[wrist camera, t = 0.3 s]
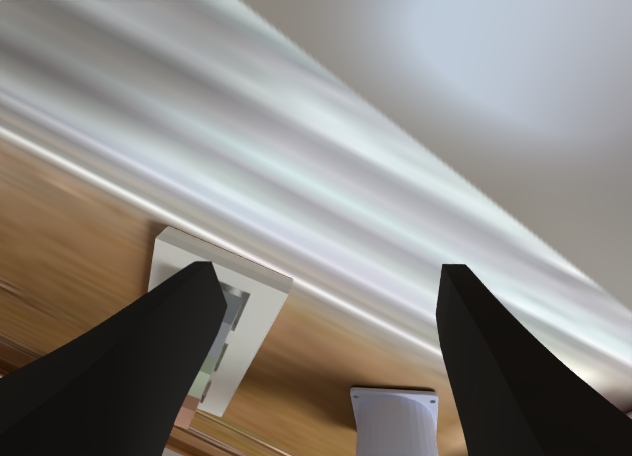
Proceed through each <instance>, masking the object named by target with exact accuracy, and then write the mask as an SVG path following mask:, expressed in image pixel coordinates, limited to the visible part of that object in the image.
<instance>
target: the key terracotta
mask: <svg viewBox="0 0 632 456" xmlns="http://www.w3.org/2000/svg"><path fill="white" fill-rule="evenodd" d="M206 387H207V386H206ZM206 387H205V389H206ZM204 391H205V390H204ZM203 394H204V392H203ZM203 394H202V396H203ZM202 396H201V398H202ZM201 398H200V399H198V398H196V397H193V396H191V395H188V394H187V396H186V398H185V400H184V402H183V404H182V407H181V409H180V411H179V413H178V415H177V418H176V420H175V423H174V425H176V426H179V427H182V428H184V429H188V427H189V425H190V422H191V420H192V418H193V416H194V414H195V412H196V410H197V407H198V405H199V403H200V401H201Z"/></svg>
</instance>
